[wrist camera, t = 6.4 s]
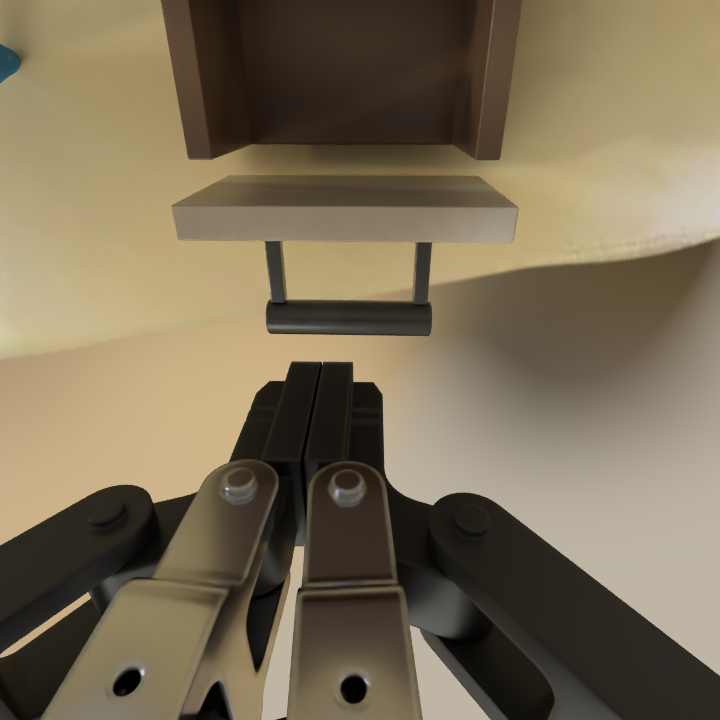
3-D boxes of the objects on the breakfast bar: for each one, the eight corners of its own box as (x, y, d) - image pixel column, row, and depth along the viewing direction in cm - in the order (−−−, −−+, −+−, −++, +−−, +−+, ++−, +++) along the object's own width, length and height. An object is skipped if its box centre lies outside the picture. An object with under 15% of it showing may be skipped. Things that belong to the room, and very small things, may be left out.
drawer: (464, 297, 24) (493, 364, 18) (245, 295, 24) (201, 359, 18) (528, -236, 15) (631, -464, 9) (174, -227, 15) (40, -441, 9)
